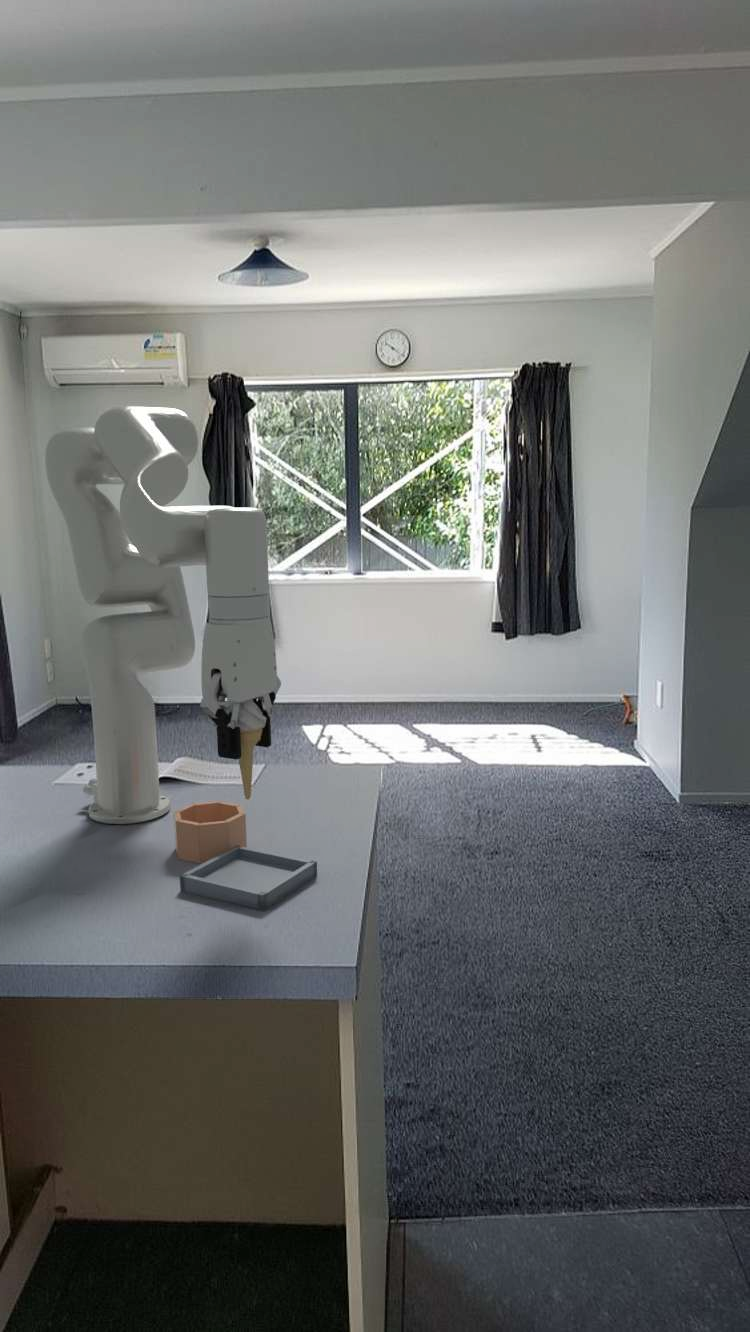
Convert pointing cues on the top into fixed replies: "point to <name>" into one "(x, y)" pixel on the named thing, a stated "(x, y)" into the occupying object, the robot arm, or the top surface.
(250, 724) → the ice cream cone
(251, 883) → the slate tray
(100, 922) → the top surface
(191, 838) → the holder cup
